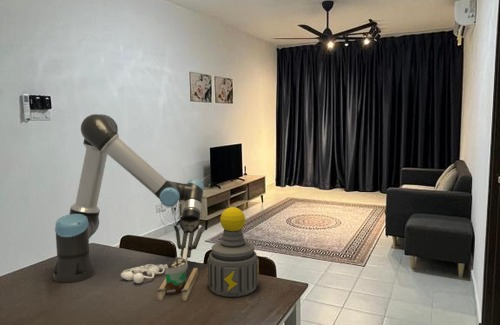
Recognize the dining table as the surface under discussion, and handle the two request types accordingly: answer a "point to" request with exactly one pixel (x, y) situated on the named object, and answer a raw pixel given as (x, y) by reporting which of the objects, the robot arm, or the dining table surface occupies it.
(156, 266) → the tangled rod sculpture
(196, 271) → the birch chute
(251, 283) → the decorative lamp
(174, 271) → the food container
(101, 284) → the dining table surface
